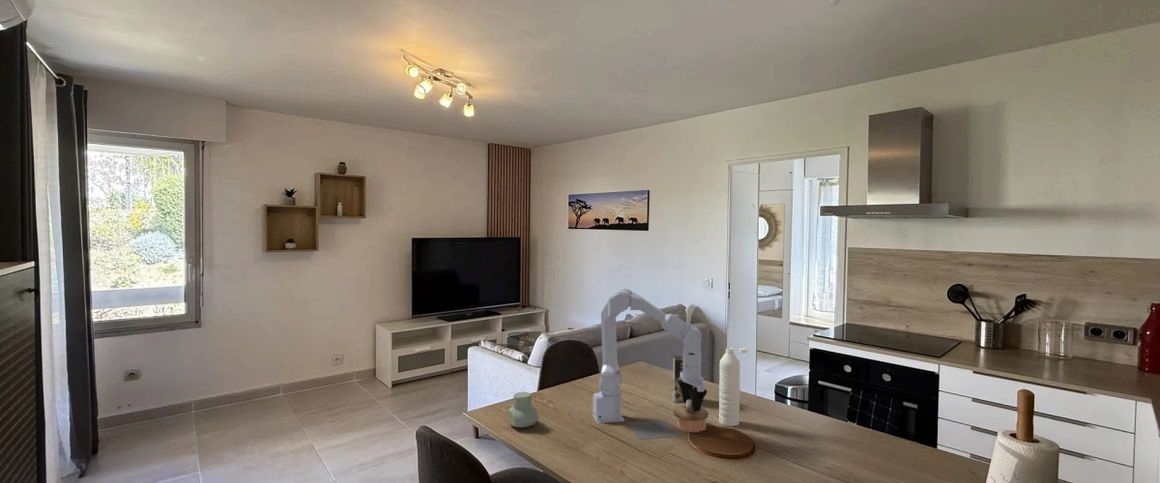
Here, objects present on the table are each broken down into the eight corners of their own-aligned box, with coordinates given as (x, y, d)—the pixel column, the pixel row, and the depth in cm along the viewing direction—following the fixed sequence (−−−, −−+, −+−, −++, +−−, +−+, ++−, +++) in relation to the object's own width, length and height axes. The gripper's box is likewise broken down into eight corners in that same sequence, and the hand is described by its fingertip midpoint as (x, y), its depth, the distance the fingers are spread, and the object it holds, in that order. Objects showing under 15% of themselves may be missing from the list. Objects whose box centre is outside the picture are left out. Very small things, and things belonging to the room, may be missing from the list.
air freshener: (505, 421, 162) (505, 391, 162) (528, 416, 166) (528, 387, 165) (516, 433, 152) (516, 401, 152) (540, 428, 156) (540, 397, 156)
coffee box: (673, 403, 179) (674, 359, 178) (672, 397, 185) (672, 355, 185) (699, 403, 178) (699, 360, 177) (696, 397, 184) (696, 356, 184)
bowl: (683, 434, 151) (683, 420, 151) (673, 423, 160) (673, 409, 160) (710, 432, 153) (710, 418, 153) (698, 421, 162) (698, 407, 162)
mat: (639, 441, 147) (639, 439, 146) (627, 424, 159) (627, 422, 159) (680, 437, 149) (680, 436, 149) (665, 421, 162) (665, 419, 162)
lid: (681, 421, 150) (681, 408, 150) (668, 408, 161) (668, 396, 160) (714, 419, 152) (714, 406, 152) (699, 406, 163) (699, 394, 163)
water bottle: (719, 425, 158) (719, 349, 157) (718, 418, 164) (719, 345, 164) (747, 428, 156) (748, 351, 155) (745, 420, 162) (746, 346, 162)
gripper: (713, 370, 150) (713, 414, 150) (694, 358, 164) (693, 398, 164) (692, 371, 148) (691, 415, 149) (674, 359, 163) (674, 399, 163)
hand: (691, 406), depth 156 cm, fingers open, 7 cm apart
